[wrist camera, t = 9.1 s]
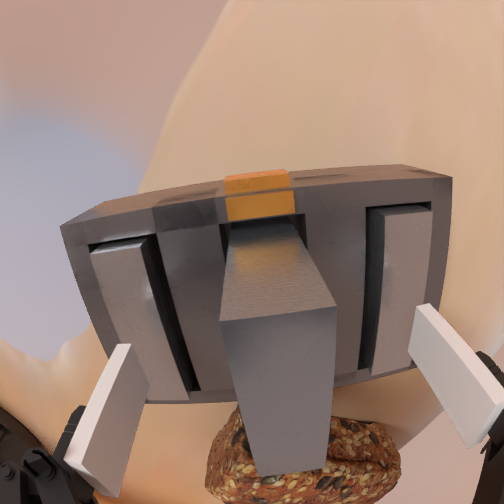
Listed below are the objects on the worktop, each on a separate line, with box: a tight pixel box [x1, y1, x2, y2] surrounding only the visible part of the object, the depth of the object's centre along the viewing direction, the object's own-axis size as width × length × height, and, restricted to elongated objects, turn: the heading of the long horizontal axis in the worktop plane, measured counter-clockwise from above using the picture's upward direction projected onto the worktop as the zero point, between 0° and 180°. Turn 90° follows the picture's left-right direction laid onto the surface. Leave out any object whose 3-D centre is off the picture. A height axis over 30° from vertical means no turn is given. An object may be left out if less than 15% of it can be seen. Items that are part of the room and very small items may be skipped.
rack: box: [60, 165, 452, 404], centre depth 18 cm, size 21×14×7 cm, turn 97°
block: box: [219, 215, 337, 477], centre depth 14 cm, size 9×3×10 cm, turn 7°
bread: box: [205, 405, 401, 504], centre depth 24 cm, size 19×11×10 cm, turn 66°
